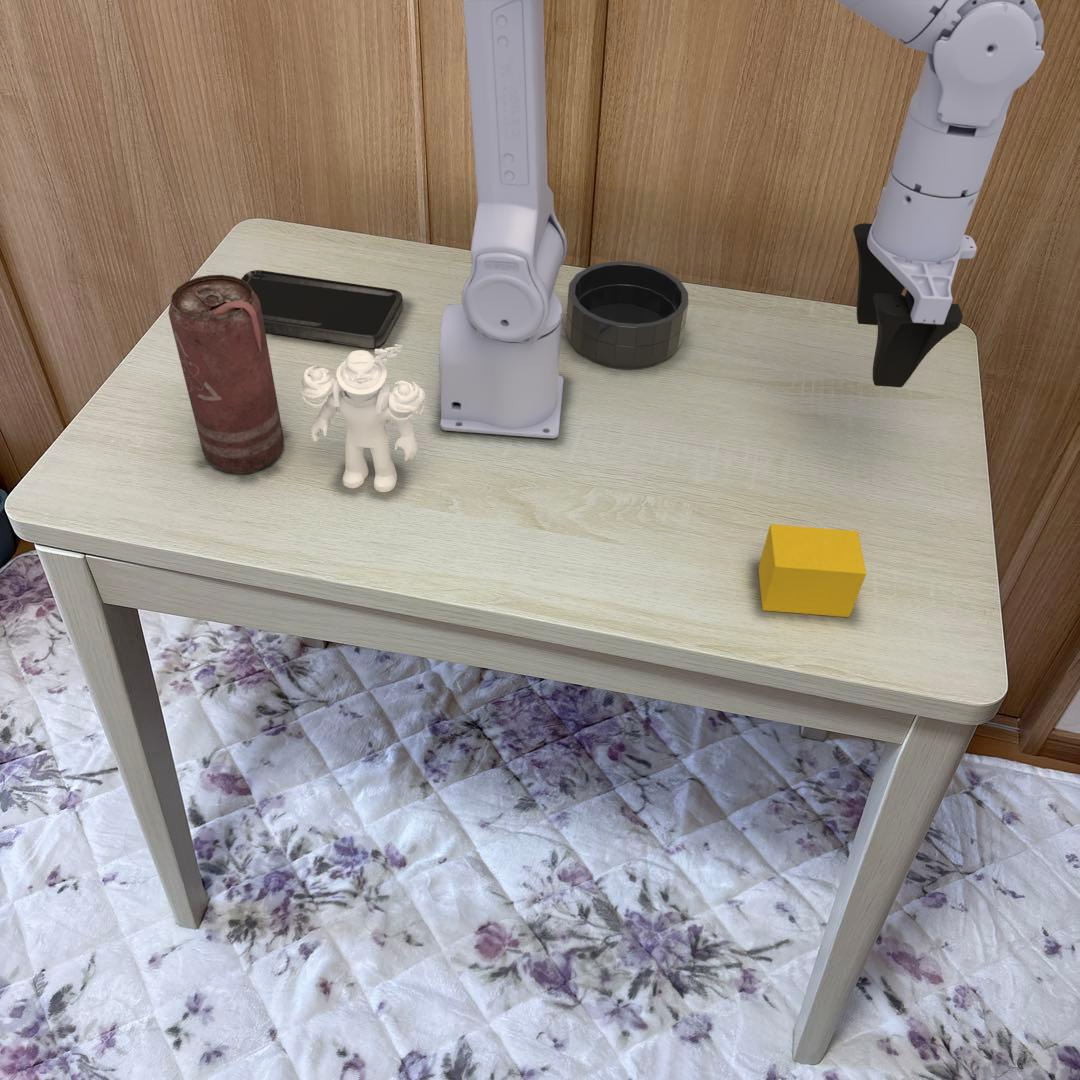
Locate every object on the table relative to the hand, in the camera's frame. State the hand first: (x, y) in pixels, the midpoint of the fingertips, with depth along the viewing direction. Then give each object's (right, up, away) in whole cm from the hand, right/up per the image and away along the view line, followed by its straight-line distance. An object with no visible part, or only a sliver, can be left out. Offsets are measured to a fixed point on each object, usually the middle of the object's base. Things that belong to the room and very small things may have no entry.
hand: (878, 352), depth 77 cm
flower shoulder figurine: (-38, -9, +3) cm, 39 cm away
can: (-48, -7, +4) cm, 48 cm away
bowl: (-17, +4, +17) cm, 25 cm away
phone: (-45, +6, +18) cm, 49 cm away
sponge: (-7, -17, -4) cm, 19 cm away
